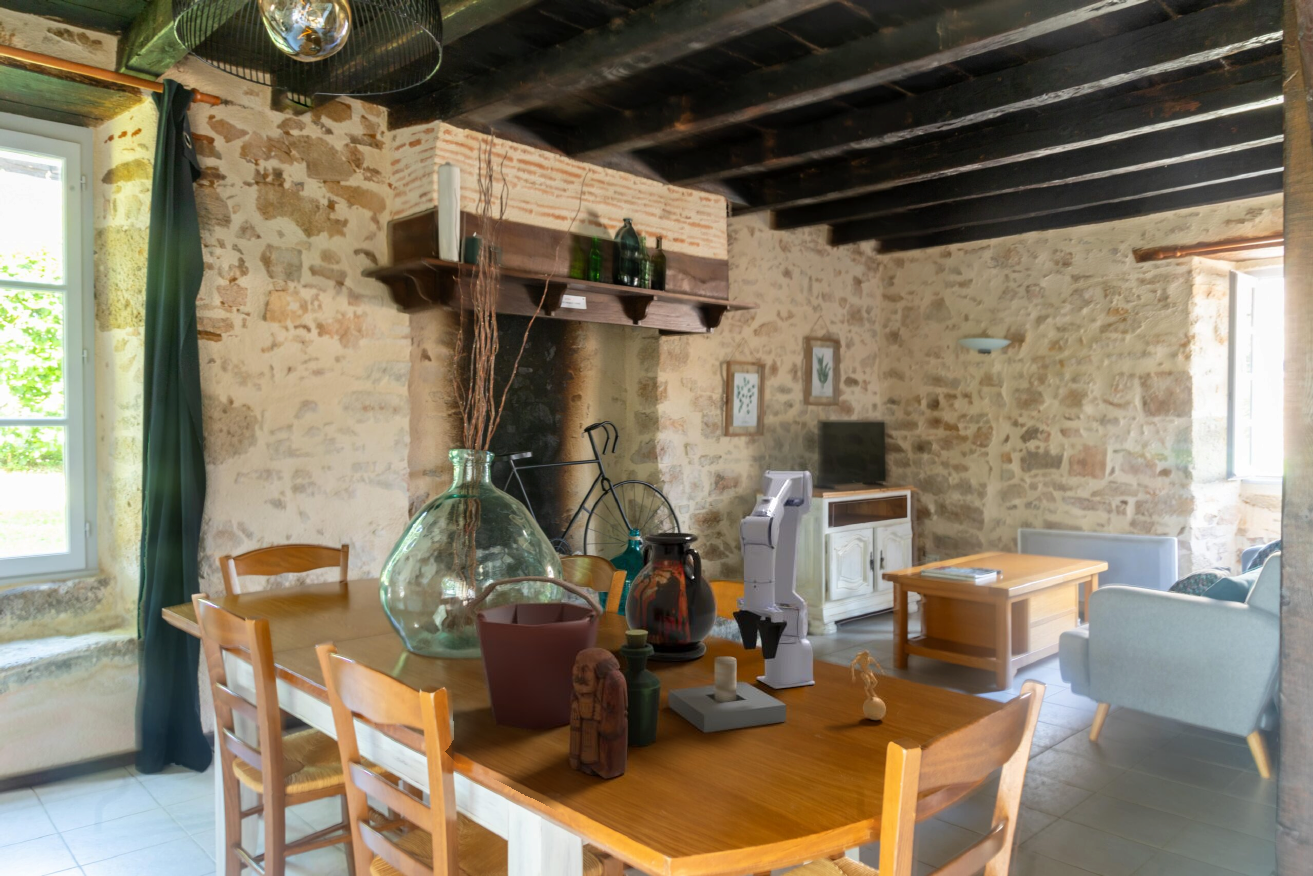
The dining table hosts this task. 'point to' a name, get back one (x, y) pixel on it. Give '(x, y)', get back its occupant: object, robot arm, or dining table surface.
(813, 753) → the dining table surface
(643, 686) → the potion bottle
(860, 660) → the figurine
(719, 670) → the birch dowel
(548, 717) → the bucket
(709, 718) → the socket block
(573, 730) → the wooden figurine
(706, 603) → the amphora vase
